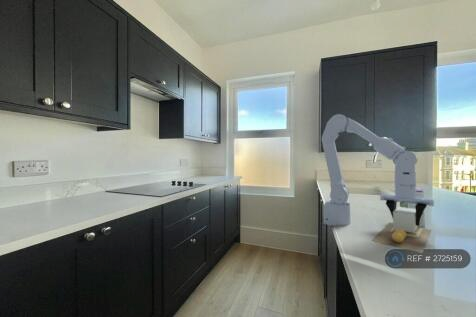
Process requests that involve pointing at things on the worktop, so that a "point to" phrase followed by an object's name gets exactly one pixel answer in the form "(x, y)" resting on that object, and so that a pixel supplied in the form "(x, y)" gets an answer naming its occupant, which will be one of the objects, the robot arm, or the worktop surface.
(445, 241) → the worktop surface
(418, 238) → the walnut board
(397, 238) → the marble
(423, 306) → the worktop surface
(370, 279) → the worktop surface
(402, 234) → the marble
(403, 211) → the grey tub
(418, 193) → the syrup box
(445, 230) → the worktop surface
